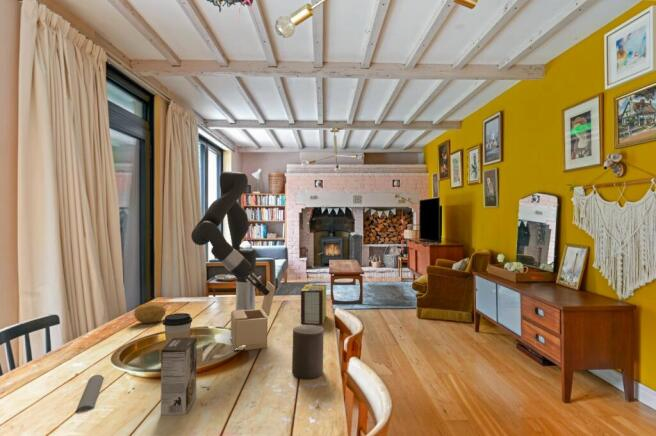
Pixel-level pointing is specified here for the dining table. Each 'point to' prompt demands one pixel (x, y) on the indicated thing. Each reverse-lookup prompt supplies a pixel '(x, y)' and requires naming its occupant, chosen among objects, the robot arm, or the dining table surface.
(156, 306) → the potato
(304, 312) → the protein box
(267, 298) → the flap
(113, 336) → the dining table surface
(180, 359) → the coffee box
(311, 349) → the pillar candle
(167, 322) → the coffee cup
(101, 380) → the gray half cylinder
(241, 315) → the carton
